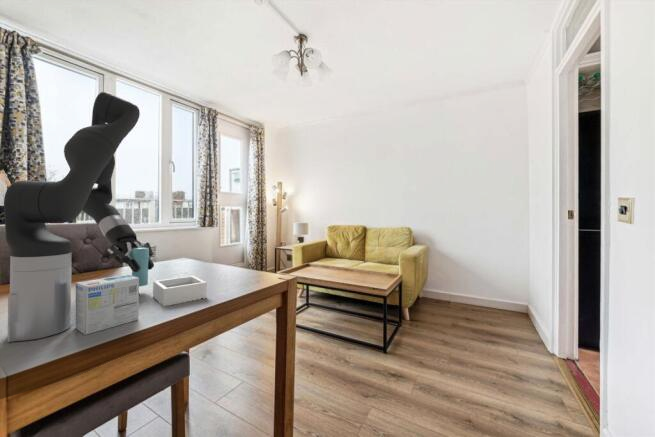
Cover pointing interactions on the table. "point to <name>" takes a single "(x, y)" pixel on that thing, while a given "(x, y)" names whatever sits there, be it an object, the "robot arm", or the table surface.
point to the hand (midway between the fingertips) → (144, 269)
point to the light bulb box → (106, 303)
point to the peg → (141, 264)
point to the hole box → (179, 290)
